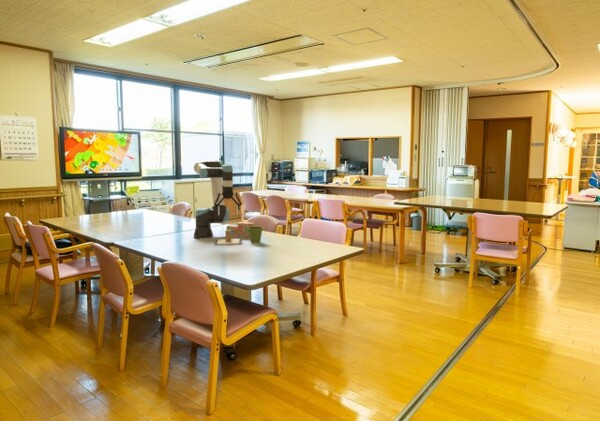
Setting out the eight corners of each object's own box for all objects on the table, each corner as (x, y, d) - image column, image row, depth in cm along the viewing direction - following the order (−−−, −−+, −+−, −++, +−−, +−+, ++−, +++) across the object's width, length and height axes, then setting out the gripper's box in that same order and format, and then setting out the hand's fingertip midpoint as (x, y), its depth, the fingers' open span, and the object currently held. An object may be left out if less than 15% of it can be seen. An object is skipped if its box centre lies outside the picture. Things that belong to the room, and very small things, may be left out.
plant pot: (248, 244, 301) (248, 229, 300) (247, 241, 313) (246, 226, 311) (264, 243, 303) (264, 228, 302) (262, 240, 315) (262, 226, 314)
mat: (215, 240, 314) (215, 239, 314) (242, 240, 317) (242, 239, 317) (214, 246, 294) (213, 245, 294) (242, 245, 297) (242, 244, 297)
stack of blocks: (226, 238, 325) (226, 222, 324) (228, 236, 331) (228, 221, 330) (252, 238, 323) (252, 223, 321) (254, 237, 329) (254, 222, 327)
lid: (218, 240, 312) (218, 228, 311) (239, 239, 314) (239, 228, 313) (217, 244, 296) (216, 232, 295) (239, 244, 299) (239, 232, 297)
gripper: (209, 186, 295) (210, 215, 297) (244, 186, 298) (245, 215, 301) (210, 186, 302) (211, 214, 305) (244, 185, 305) (245, 213, 308)
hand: (228, 214), depth 303 cm, fingers open, 13 cm apart
